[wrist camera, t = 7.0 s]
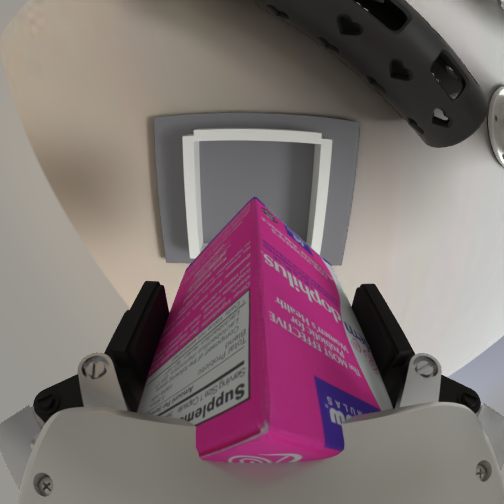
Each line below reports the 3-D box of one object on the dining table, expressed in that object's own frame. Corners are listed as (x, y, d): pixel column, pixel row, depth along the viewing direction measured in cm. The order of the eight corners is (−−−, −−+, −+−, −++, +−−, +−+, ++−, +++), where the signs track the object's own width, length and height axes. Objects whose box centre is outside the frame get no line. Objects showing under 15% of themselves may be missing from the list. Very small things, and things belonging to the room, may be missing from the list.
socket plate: (356, 121, 24) (370, 123, 21) (339, 261, 32) (347, 277, 29) (157, 117, 24) (144, 117, 21) (168, 258, 32) (160, 274, 28)
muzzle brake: (403, 142, 25) (462, 160, 16) (188, -7, 18) (160, -53, 8) (442, 87, 21) (504, 90, 12) (242, -57, 14) (239, -109, 5)
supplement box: (334, 261, 15) (417, 467, 5) (260, 323, 17) (264, 513, 7) (256, 188, 13) (266, 445, 3) (182, 268, 15) (112, 478, 5)
